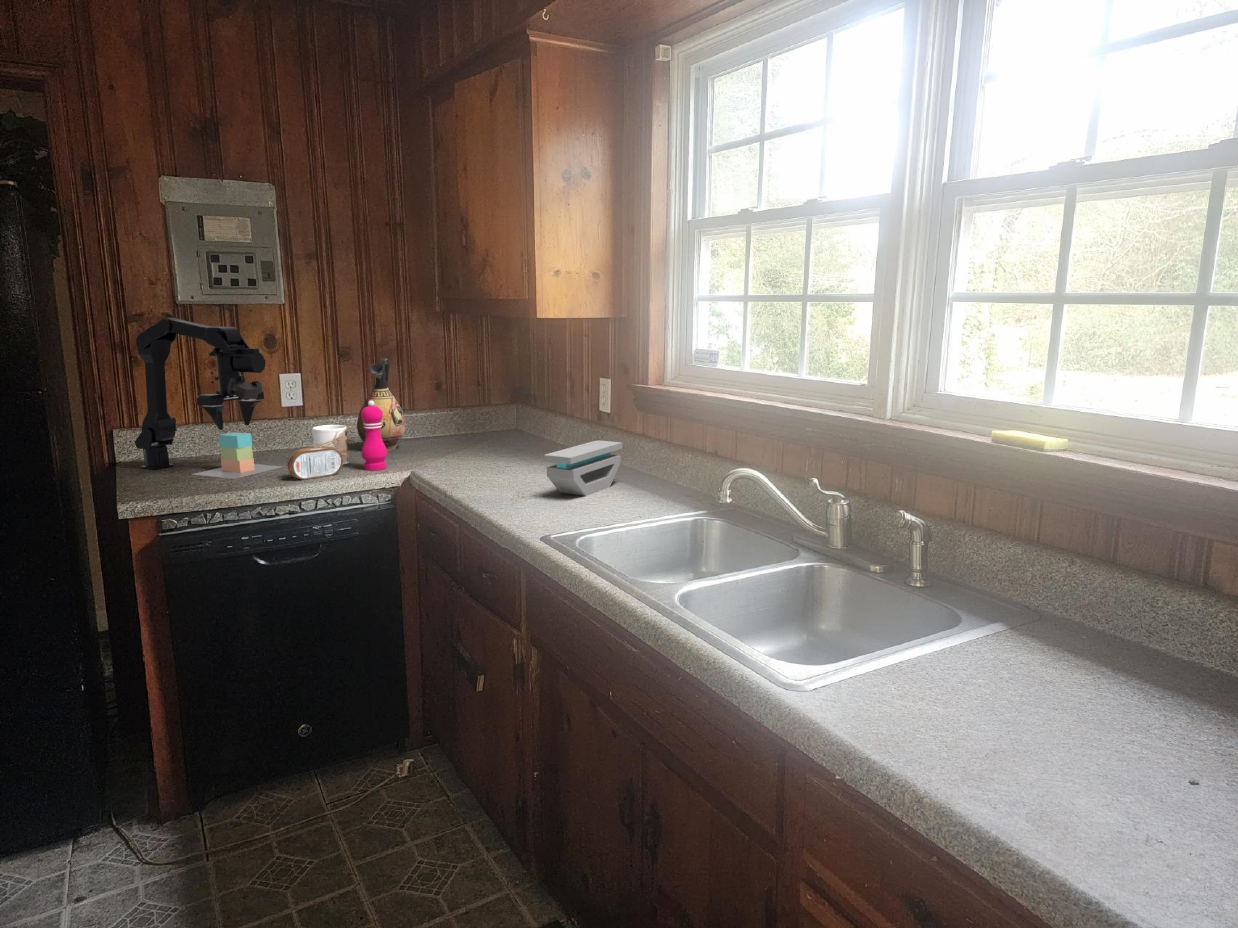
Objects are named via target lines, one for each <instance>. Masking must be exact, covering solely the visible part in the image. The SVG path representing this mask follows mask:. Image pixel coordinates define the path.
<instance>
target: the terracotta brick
mask: <svg viewBox="0 0 1238 928" xmlns="http://www.w3.org/2000/svg"><path fill="white" fill-rule="evenodd" d="M254 460H255V459H254V457H253V458H250V459H245V460H240V461H234V460H227V459H221V458H220V463H221V468H222V471H226V472H236V473H242V472H247V471H251V470H255V469H254V464H255V461H254Z"/></svg>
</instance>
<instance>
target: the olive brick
mask: <svg viewBox="0 0 1238 928" xmlns="http://www.w3.org/2000/svg"><path fill="white" fill-rule="evenodd" d="M219 448H220V460H221V459H227V460H234V461H240V460H245V459H250V458H254V455H253V445H252V446H248V447H243V448H226V447H220V446H219Z"/></svg>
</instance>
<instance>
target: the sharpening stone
mask: <svg viewBox="0 0 1238 928" xmlns="http://www.w3.org/2000/svg"><path fill="white" fill-rule="evenodd" d="M621 449H623V442H620V441H609V440H608V441H607V440H598V439H597V440H593V441H589V442H587V443H582V444H578V445H575V446H570V447H567V448H565V449H564V448H563V449H559V450H558V451H557V450H556V451H553V452H549V453H546V454H543V461H544V462H549V463H555V464H553V465H550V466H547V467H546V477H547V479H548V480H549V481H551V483H552V485H553V486H554V487H555V488H556V489H557V491H559V493H560V494H569V495H574V496H575V495H576V496H583V497H589V496H590V495H593V494H595V493H598V492H600V491H603V490H606V489H609V488H611V485H612V483H613V481H614V480H615V479H614V478H615V477H616V474H617V472H618V470H619V468H620V466H621V455H619V454H612V453H613V452H615V451H617V450H621Z"/></svg>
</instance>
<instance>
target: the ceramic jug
mask: <svg viewBox="0 0 1238 928" xmlns="http://www.w3.org/2000/svg"><path fill="white" fill-rule="evenodd" d="M368 371H369V373H370V374H371V375H373V376H374V377H375V385H374V387H373V389H372V390H371V392H370V393H369V394H368V396H367V398H366V400H365V401H364V402H363V404H362V406H361V408H360V410H359V413H358V416H357V423H356V431H357V433H358V436H359V438H360V440H361V441H362V442H363V443H364V442H365V438H366V430H365V428H364V423H365V422H364V420H363V419H362V418H361V412H362V410H363V409H364V408H365V407H367V406H369V405H368V402H369V401H374V406H377V407H379V408H380V409H381V410H382V413H383V417H382V419H381V421H380V422H381V426H382V427H381V428H380V433H381V438H382V441H383V443H384V445H385V447H386V449H387V452H390V451H391V452H392V451H394V450H396V448H397V445H398V444H399V442H400V441H401V440H402V438H403V437H404V435H405V432H406V427H407V426H406V425H407V424H406V418H405V414H404V412H403V408H402V407H401V406H400V403H399V401H397V399H396V398H395V396H394V395H393V394H392V392H391V391H390V390H389V386H388V381H389V375H390V374H389V373H390V359H388V358H386V357H383V358H380V359H379V360H378V362H377V364H376V363H372V364H371V365H370V366H369V368H368Z"/></svg>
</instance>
